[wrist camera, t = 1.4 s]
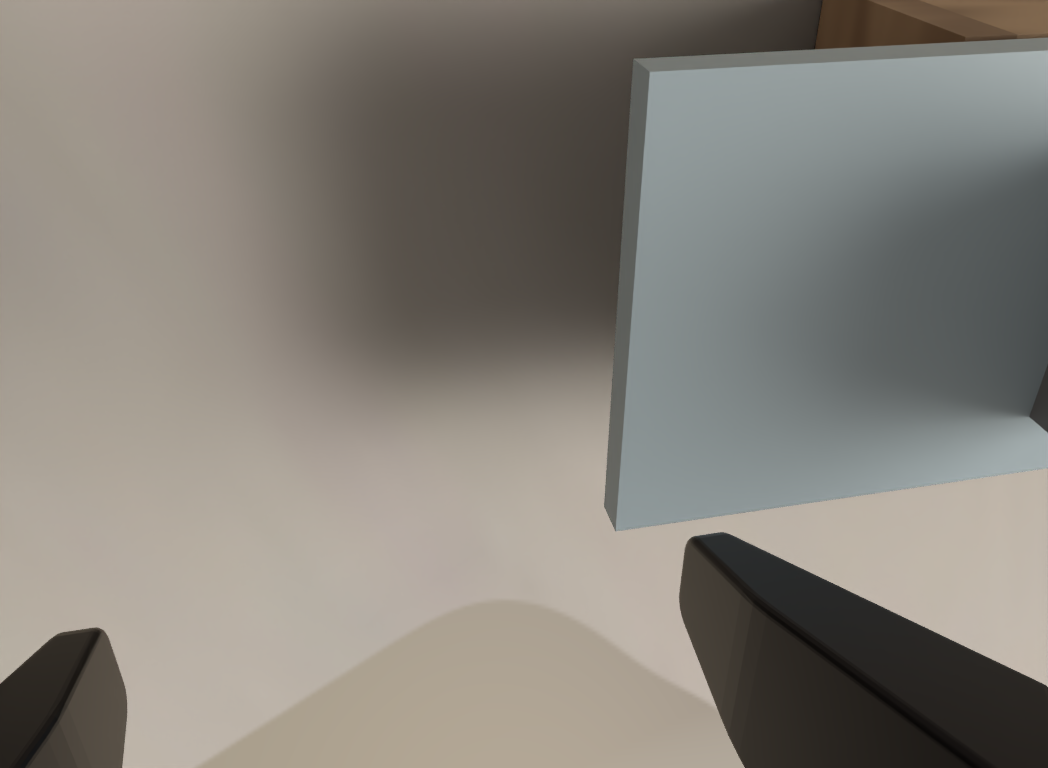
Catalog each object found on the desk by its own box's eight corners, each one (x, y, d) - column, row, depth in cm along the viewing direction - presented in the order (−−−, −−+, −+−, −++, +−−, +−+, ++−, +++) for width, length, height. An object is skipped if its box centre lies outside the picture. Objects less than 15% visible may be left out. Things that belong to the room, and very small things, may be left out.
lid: (604, 506, 20) (781, 903, 13) (633, 58, 15) (947, 308, 8) (1067, 441, 22) (1439, 752, 15) (1227, 28, 17) (1895, 205, 10)
